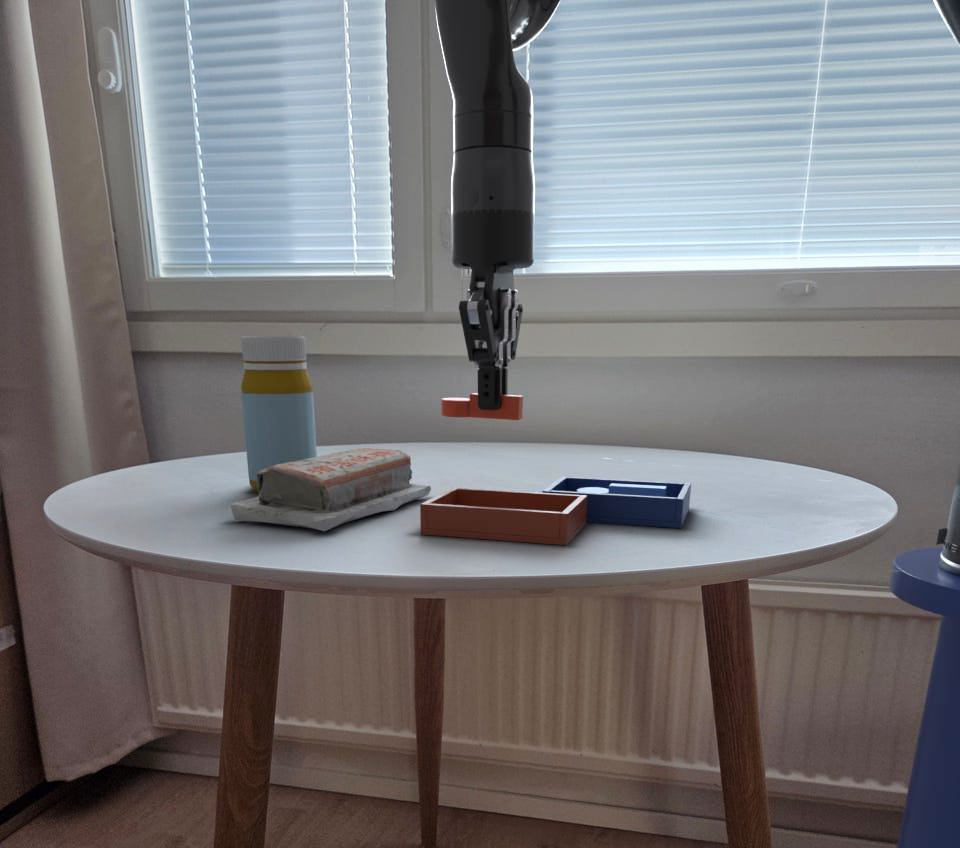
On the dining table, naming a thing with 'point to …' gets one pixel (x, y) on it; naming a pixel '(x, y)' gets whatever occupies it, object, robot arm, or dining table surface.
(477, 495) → the terracotta tray
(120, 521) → the dining table surface
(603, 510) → the blue tray
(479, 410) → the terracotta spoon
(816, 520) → the dining table surface
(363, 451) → the packaged product
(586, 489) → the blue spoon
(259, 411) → the bottle
